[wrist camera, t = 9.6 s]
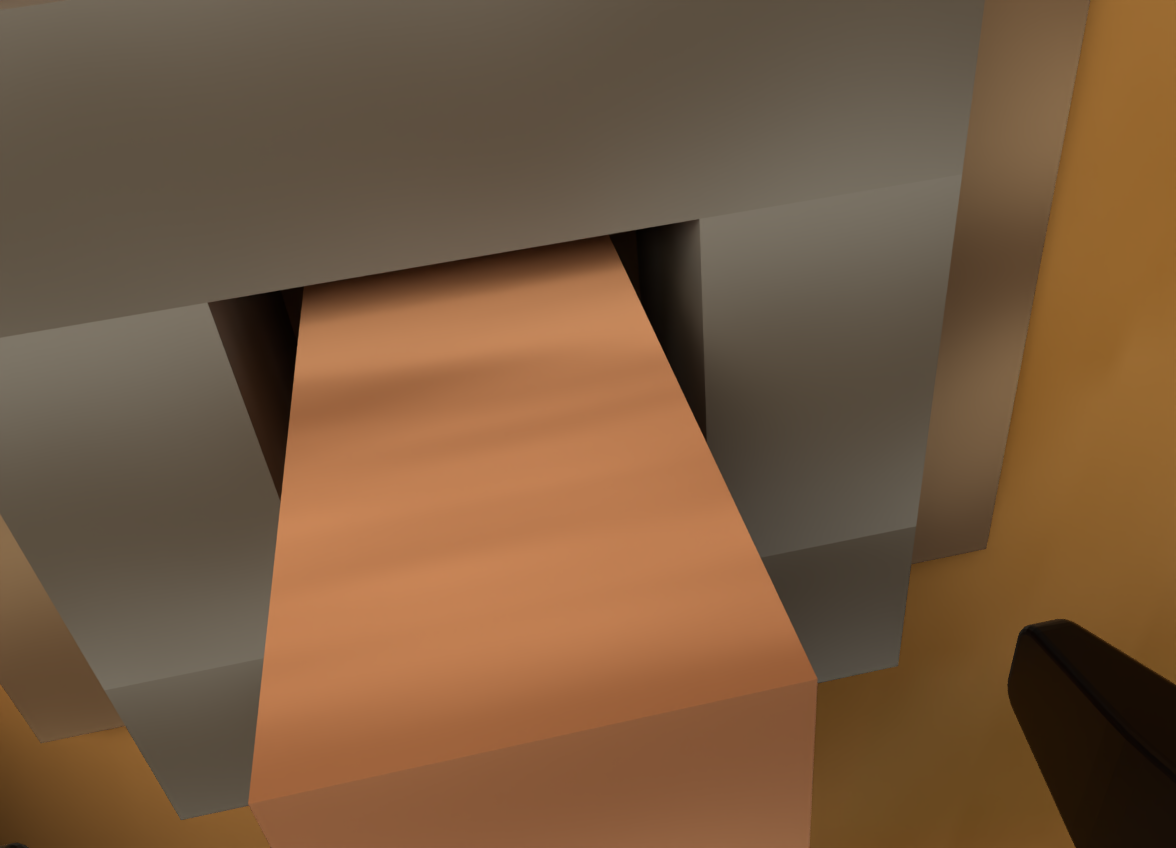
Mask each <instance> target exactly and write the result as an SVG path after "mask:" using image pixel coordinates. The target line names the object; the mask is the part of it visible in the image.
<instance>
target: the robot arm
mask: <svg viewBox="0 0 1176 848" xmlns="http://www.w3.org/2000/svg"><path fill="white" fill-rule="evenodd" d="M1008 695H1009V699H1010V703H1011V706H1012V708H1013V711H1014V713H1015V715H1016V717H1017V719H1018V722H1019V724H1020V726H1021V728H1022V730H1023V733H1024V735H1025V737H1026V739H1027V742H1028V744H1029V746H1030V748H1031V750H1032V753H1033V755H1034V757H1035V759H1036V761H1037V764H1038V766H1039V768H1040V770H1041V773H1042V775H1043V777H1044V779H1045V781H1046V784H1047V786H1048V788H1049V790H1050V792H1051V795H1052V797H1053V799H1054V801H1055V804H1056V806H1057V808H1058V810H1059V812H1060V815H1061V817H1062V819H1063V821H1064V823H1065V826H1066V828H1067V830H1068V832H1069V835H1070V837H1071V839H1072V841H1073V843H1074V845H1075V847H1076V848H1176V685H1175V684H1174V683H1172V682H1170V681H1169V680H1167V679H1166V678H1164V677H1162V676H1161V675H1159V674H1157V673H1156V672H1154V671H1153V670H1151V669H1149V668H1148V667H1146V666H1144V665H1143V664H1141V663H1140V662H1138V661H1136V660H1135V659H1133V658H1132V657H1130V656H1128V655H1127V654H1125V653H1123V652H1122V651H1120V650H1119V649H1117V648H1115V647H1114V646H1112V645H1110V644H1109V643H1107V642H1106V641H1104V640H1102V639H1101V638H1099V637H1097V636H1096V635H1094V634H1093V633H1091V632H1089V631H1088V630H1086V629H1084V628H1083V627H1081V626H1080V625H1078V624H1076V623H1074V622H1072V621H1069V620H1066V619H1055V620H1050V621H1046V622H1041V623H1036V624H1032V625H1028V626H1025V627H1024V628H1023V629H1022V630H1021V631H1020V633H1019V636H1018V639H1017V644H1016V648H1015V652H1014V656H1013V661H1012V665H1011V669H1010V673H1009V678H1008ZM0 848H28V847H27V846H25V845H23V844H20V843H10V844H6V845H1V846H0Z"/></svg>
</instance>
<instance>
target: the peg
mask: <svg viewBox="0 0 1176 848" xmlns="http://www.w3.org/2000/svg"><path fill="white" fill-rule="evenodd" d="M817 681H818V679H817V677H816V675H815V672H814V670H813V668H812V666H811V664H810V662H809V660H808V658H807V655H806V653H805V651H804V649H803V647H802V645H801V643H800V641H799V638H798V636H797V634H796V632H795V630H794V628H793V626H792V624H791V621H790V619H789V617H788V615H787V613H786V611H785V609H784V607H783V604H782V602H781V600H780V598H779V596H778V594H777V592H776V590H775V587H774V585H773V583H772V581H771V579H770V577H769V575H768V573H767V570H766V568H765V566H764V564H763V562H762V560H761V558H760V556H759V553H758V551H757V549H756V547H755V545H754V543H753V541H752V539H751V536H750V534H749V532H748V530H747V528H746V526H745V524H744V522H743V519H742V517H741V515H740V513H739V511H738V509H737V507H736V505H735V502H734V500H733V498H732V496H731V494H730V492H729V490H728V488H727V485H726V483H725V481H724V479H723V477H722V475H721V473H720V471H719V468H718V466H717V464H716V462H715V460H714V458H713V456H712V454H711V451H710V449H709V447H708V445H707V443H706V441H705V439H704V437H703V434H702V432H701V430H700V428H699V426H698V424H697V422H696V420H695V417H694V415H693V413H692V411H691V409H690V407H689V405H688V403H687V400H686V398H685V396H684V394H683V392H682V390H681V388H680V386H679V383H678V381H677V379H676V377H675V375H674V373H673V371H672V369H671V366H670V364H669V362H668V360H667V358H666V356H665V354H664V352H663V349H662V347H661V345H660V343H659V341H658V339H657V337H656V335H655V332H654V330H653V328H652V326H651V324H650V322H649V320H648V318H647V315H646V313H645V311H644V309H643V307H642V305H641V303H640V301H639V298H638V296H637V294H636V292H635V290H634V288H633V286H632V284H631V282H630V279H629V277H628V275H627V273H626V271H625V269H624V267H623V265H622V262H621V260H620V258H619V256H618V254H617V252H616V250H615V248H614V245H613V243H612V241H611V239H610V237H609V235H602V236H596V237H590V238H584V239H579V240H573V241H567V242H561V243H555V244H549V245H543V246H537V247H531V248H526V249H520V250H514V251H508V252H502V253H496V254H490V255H484V256H479V257H473V258H467V259H461V260H455V261H449V262H443V263H437V264H431V265H426V266H420V267H414V268H408V269H402V270H396V271H390V272H384V273H378V274H373V275H367V276H361V277H355V278H349V279H343V280H337V281H331V282H325V283H320V284H314V285H308V286H304V290H303V299H302V308H301V318H300V327H299V336H298V346H297V355H296V364H295V373H294V383H293V392H292V401H291V411H290V420H289V429H288V438H287V448H286V457H285V466H284V476H283V485H282V494H281V503H280V513H279V522H278V531H277V541H276V550H275V559H274V568H273V578H272V587H271V596H270V606H269V615H268V624H267V633H266V643H265V652H264V661H263V671H262V680H261V689H260V698H259V708H258V717H257V726H256V736H255V745H254V754H253V764H252V773H251V782H250V791H249V801H248V805H249V807H250V809H251V811H252V813H253V814H254V816H255V818H256V820H257V822H258V824H259V826H260V828H261V830H262V831H263V833H264V835H265V837H266V839H267V841H268V843H269V845H270V847H271V848H809V847H810V826H811V805H812V785H813V764H814V743H815V723H816V702H817Z"/></svg>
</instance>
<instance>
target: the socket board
mask: <svg viewBox="0 0 1176 848" xmlns="http://www.w3.org/2000/svg"><path fill="white" fill-rule="evenodd" d="M1089 4H1090V0H0V684H1V685H2V687H3V688H4V690H5V691H6V693H7V694H8V696H9V697H10V699H11V700H12V702H13V703H14V704H15V706H16V707H17V709H18V710H19V712H20V713H21V715H22V716H23V718H24V719H25V721H26V722H27V724H28V725H29V726H30V728H31V729H32V731H33V732H34V734H35V735H36V737H37V738H38V740H39V741H40V743H44V742H49V741H54V740H59V739H64V738H69V737H74V736H78V735H83V734H88V733H93V732H98V731H103V730H108V729H113V728H117V727H122V726H126V728H127V730H128V731H129V733H130V735H131V736H132V738H133V740H134V741H135V743H136V745H137V746H138V748H139V750H140V752H141V753H142V755H143V757H144V758H145V760H146V762H147V763H148V765H149V767H150V768H151V770H152V772H153V774H154V775H155V777H156V779H157V780H158V782H159V784H160V785H161V787H162V789H163V790H164V792H165V794H166V795H167V797H168V799H169V801H170V802H171V804H172V806H173V807H174V809H175V811H176V812H177V814H178V816H179V817H180V819H181V820H184V819H188V818H193V817H198V816H202V815H207V814H212V813H216V812H221V811H226V810H230V809H235V808H240V807H244V806H249V805H248V801H249V791H250V782H251V773H252V764H253V754H254V745H255V736H256V726H257V717H258V708H259V698H260V689H261V680H262V671H263V661H264V652H265V643H266V633H267V624H268V615H269V606H270V596H271V587H272V578H273V568H274V559H275V550H276V541H277V531H278V522H279V513H280V503H281V494H282V485H283V476H284V466H285V457H286V448H287V438H288V429H289V420H290V411H291V401H292V392H293V383H294V373H295V364H296V355H297V346H298V336H299V327H300V318H301V308H302V299H303V290H304V286H308V285H314V284H320V283H325V282H331V281H337V280H343V279H349V278H355V277H361V276H367V275H373V274H378V273H384V272H390V271H396V270H402V269H408V268H414V267H420V266H426V265H431V264H437V263H443V262H449V261H455V260H461V259H467V258H473V257H479V256H484V255H490V254H496V253H502V252H508V251H514V250H520V249H526V248H531V247H537V246H543V245H549V244H555V243H561V242H567V241H573V240H579V239H584V238H590V237H596V236H602V235H609V237H610V239H611V241H612V243H613V245H614V248H615V250H616V252H617V254H618V256H619V258H620V260H621V262H622V265H623V267H624V269H625V271H626V273H627V275H628V277H629V279H630V282H631V284H632V286H633V288H634V290H635V292H636V294H637V296H638V298H639V301H640V303H641V305H642V307H643V309H644V311H645V313H646V315H647V318H648V320H649V322H650V324H651V326H652V328H653V330H654V332H655V335H656V337H657V339H658V341H659V343H660V345H661V347H662V349H663V352H664V354H665V356H666V358H667V360H668V362H669V364H670V366H671V369H672V371H673V373H674V375H675V377H676V379H677V381H678V383H679V386H680V388H681V390H682V392H683V394H684V396H685V398H686V400H687V403H688V405H689V407H690V409H691V411H692V413H693V415H694V417H695V420H696V422H697V424H698V426H699V428H700V430H701V432H702V434H703V437H704V439H705V441H706V443H707V445H708V447H709V449H710V451H711V454H712V456H713V458H714V460H715V462H716V464H717V466H718V468H719V471H720V473H721V475H722V477H723V479H724V481H725V483H726V485H727V488H728V490H729V492H730V494H731V496H732V498H733V500H734V502H735V505H736V507H737V509H738V511H739V513H740V515H741V517H742V519H743V522H744V524H745V526H746V528H747V530H748V532H749V534H750V536H751V539H752V541H753V543H754V545H755V547H756V549H757V551H758V553H759V556H760V558H761V560H762V562H763V564H764V566H765V568H766V570H767V573H768V575H769V577H770V579H771V581H772V583H773V585H774V587H775V590H776V592H777V594H778V596H779V598H780V600H781V602H782V604H783V607H784V609H785V611H786V613H787V615H788V617H789V619H790V621H791V624H792V626H793V628H794V630H795V632H796V634H797V636H798V638H799V641H800V643H801V645H802V647H803V649H804V651H805V653H806V655H807V658H808V660H809V662H810V664H811V666H812V668H813V670H814V672H815V675H816V677H817V679H818V681H817V683H821V682H826V681H830V680H835V679H840V678H844V677H849V676H854V675H858V674H863V673H868V672H872V671H877V670H882V669H886V668H891V667H895V666H898V661H899V654H900V646H901V638H902V631H903V623H904V615H905V608H906V600H907V592H908V585H909V577H910V570H911V564H915V563H920V562H924V561H929V560H934V559H939V558H944V557H949V556H954V555H958V554H963V553H968V552H973V551H978V550H983V549H986V547H987V542H988V536H989V531H990V526H991V521H992V515H993V510H994V505H995V500H996V494H997V489H998V484H999V478H1000V473H1001V468H1002V463H1003V457H1004V452H1005V447H1006V442H1007V436H1008V431H1009V426H1010V420H1011V415H1012V410H1013V405H1014V399H1015V394H1016V389H1017V384H1018V378H1019V373H1020V368H1021V362H1022V357H1023V352H1024V347H1025V341H1026V336H1027V331H1028V326H1029V320H1030V315H1031V310H1032V305H1033V299H1034V294H1035V289H1036V283H1037V278H1038V273H1039V268H1040V262H1041V257H1042V252H1043V247H1044V241H1045V236H1046V231H1047V225H1048V220H1049V215H1050V210H1051V204H1052V199H1053V194H1054V189H1055V183H1056V178H1057V173H1058V167H1059V162H1060V157H1061V152H1062V146H1063V141H1064V136H1065V131H1066V125H1067V120H1068V115H1069V110H1070V104H1071V99H1072V94H1073V88H1074V83H1075V78H1076V73H1077V67H1078V62H1079V57H1080V52H1081V46H1082V41H1083V36H1084V30H1085V25H1086V20H1087V15H1088V9H1089Z"/></svg>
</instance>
